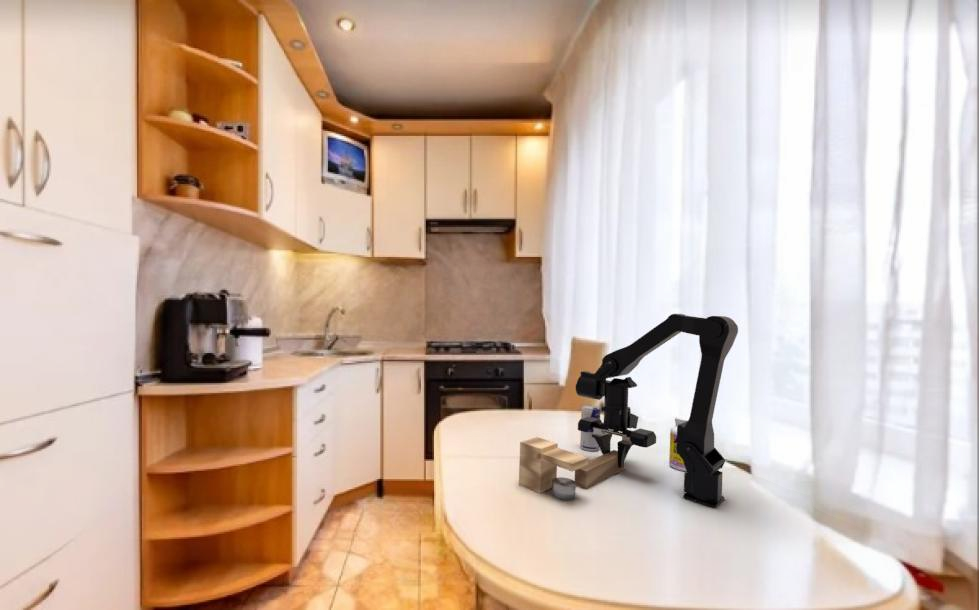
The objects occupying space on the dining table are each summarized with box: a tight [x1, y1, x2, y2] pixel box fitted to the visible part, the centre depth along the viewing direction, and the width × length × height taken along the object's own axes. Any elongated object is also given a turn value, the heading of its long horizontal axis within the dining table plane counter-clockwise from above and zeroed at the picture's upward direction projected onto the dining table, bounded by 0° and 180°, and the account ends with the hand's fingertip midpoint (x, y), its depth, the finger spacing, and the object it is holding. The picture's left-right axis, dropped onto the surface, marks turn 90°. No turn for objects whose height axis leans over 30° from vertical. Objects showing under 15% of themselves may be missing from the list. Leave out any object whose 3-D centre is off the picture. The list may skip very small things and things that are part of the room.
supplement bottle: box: [668, 415, 690, 472], centre depth 108 cm, size 7×7×13 cm
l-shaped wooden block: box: [518, 436, 590, 494], centre depth 91 cm, size 14×6×10 cm, turn 45°
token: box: [551, 476, 577, 502], centre depth 88 cm, size 5×5×3 cm
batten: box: [574, 449, 626, 490], centre depth 99 cm, size 3×18×4 cm, turn 135°
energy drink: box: [579, 404, 601, 452], centre depth 120 cm, size 5×5×12 cm
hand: (614, 465), depth 104 cm, fingers closed on batten, 3 cm apart
